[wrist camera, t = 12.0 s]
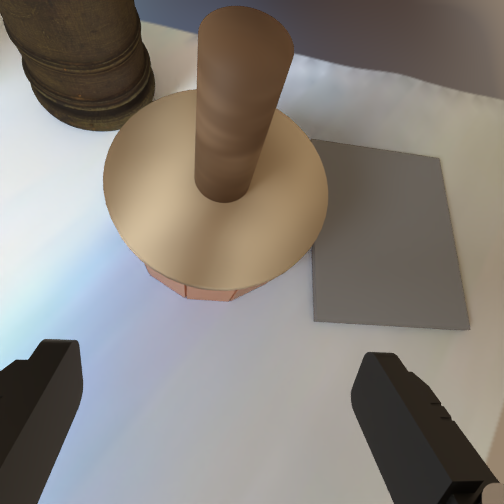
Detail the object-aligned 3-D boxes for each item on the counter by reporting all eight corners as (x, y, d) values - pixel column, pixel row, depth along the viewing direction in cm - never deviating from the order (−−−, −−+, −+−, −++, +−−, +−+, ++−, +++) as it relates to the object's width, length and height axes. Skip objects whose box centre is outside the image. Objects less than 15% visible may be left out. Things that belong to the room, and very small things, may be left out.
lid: (85, 281, 15) (-33, 188, 7) (126, 83, 19) (80, -122, 11) (327, 298, 17) (451, 240, 9) (319, 115, 21) (401, -40, 13)
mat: (313, 321, 23) (316, 320, 22) (308, 143, 28) (311, 138, 27) (463, 330, 25) (470, 329, 24) (434, 162, 30) (439, 158, 29)
